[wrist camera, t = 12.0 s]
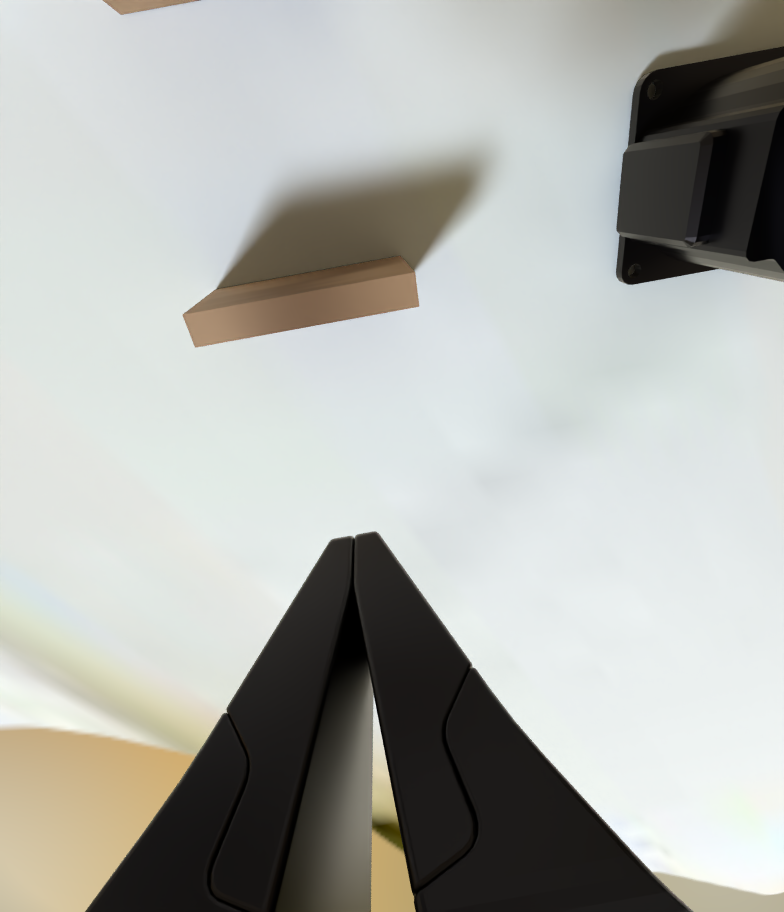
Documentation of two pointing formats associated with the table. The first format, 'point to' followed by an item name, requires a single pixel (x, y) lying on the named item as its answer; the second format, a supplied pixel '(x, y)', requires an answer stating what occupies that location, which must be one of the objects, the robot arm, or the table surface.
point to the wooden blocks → (293, 284)
